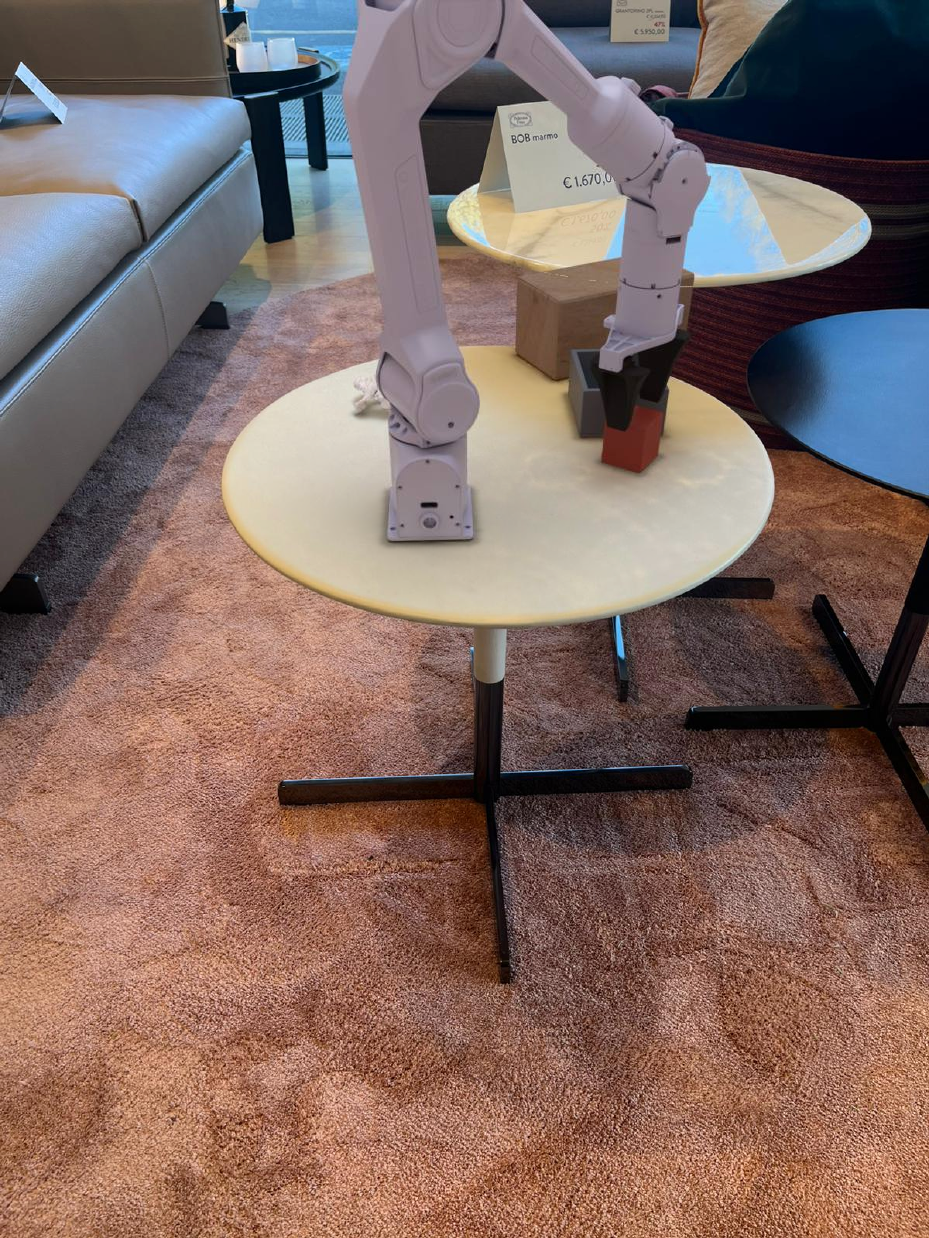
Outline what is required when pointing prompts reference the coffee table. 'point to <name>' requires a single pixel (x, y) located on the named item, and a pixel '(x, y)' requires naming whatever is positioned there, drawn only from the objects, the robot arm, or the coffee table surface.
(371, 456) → the coffee table surface
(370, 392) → the white lumpy piece
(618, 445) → the block
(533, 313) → the wooden block
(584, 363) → the tub
